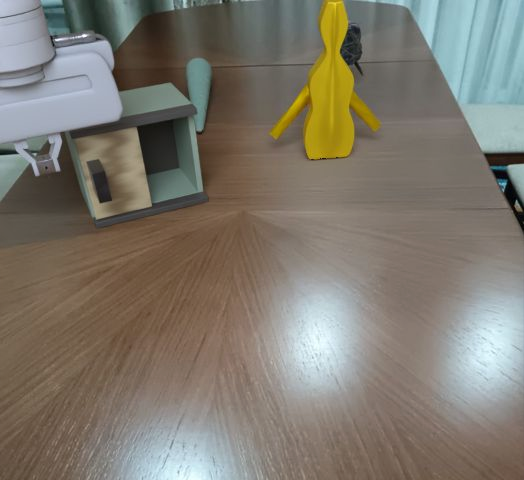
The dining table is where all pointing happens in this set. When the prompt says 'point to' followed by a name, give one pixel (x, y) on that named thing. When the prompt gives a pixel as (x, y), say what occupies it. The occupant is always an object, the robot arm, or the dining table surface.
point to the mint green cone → (199, 88)
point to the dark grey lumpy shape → (352, 46)
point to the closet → (154, 150)
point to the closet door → (114, 172)
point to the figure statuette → (328, 94)
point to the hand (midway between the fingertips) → (47, 172)
